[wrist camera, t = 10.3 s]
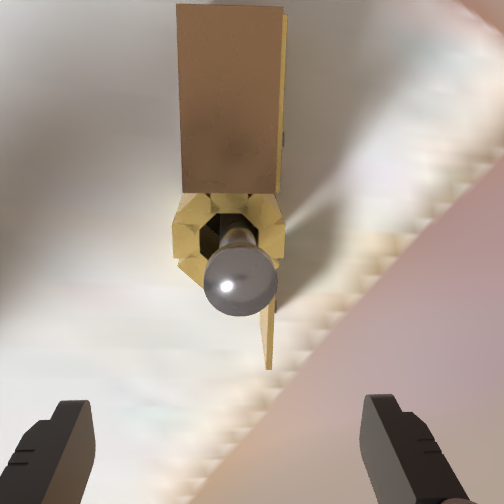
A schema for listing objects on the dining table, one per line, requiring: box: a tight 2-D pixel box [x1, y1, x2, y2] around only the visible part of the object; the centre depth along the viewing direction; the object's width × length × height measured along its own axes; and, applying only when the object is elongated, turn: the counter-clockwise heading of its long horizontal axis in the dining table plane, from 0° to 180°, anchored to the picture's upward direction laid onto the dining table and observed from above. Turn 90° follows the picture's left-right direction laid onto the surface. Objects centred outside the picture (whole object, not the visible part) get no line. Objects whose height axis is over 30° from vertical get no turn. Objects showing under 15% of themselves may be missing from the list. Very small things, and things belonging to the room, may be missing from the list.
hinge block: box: [172, 4, 288, 370], centre depth 29 cm, size 22×7×8 cm, turn 179°
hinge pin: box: [203, 213, 277, 316], centre depth 28 cm, size 4×4×12 cm
